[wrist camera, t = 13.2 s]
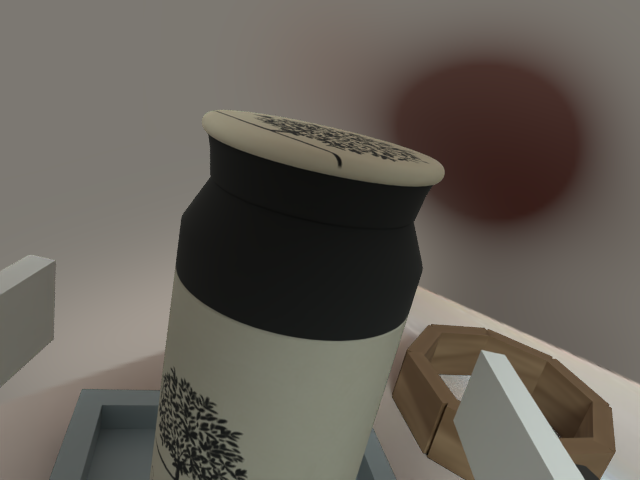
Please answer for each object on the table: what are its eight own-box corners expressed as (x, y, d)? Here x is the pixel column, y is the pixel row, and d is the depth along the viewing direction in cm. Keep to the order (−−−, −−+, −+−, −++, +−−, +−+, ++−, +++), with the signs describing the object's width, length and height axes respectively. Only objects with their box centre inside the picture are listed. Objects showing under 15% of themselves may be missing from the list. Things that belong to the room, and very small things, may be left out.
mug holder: (507, 368, 41) (523, 330, 39) (635, 499, 29) (663, 451, 27) (373, 362, 37) (386, 320, 35) (455, 512, 25) (479, 457, 23)
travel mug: (268, 449, 25) (342, 125, 19) (361, 581, 19) (507, 178, 14) (116, 508, 20) (154, 95, 14) (183, 709, 14) (292, 159, 9)
